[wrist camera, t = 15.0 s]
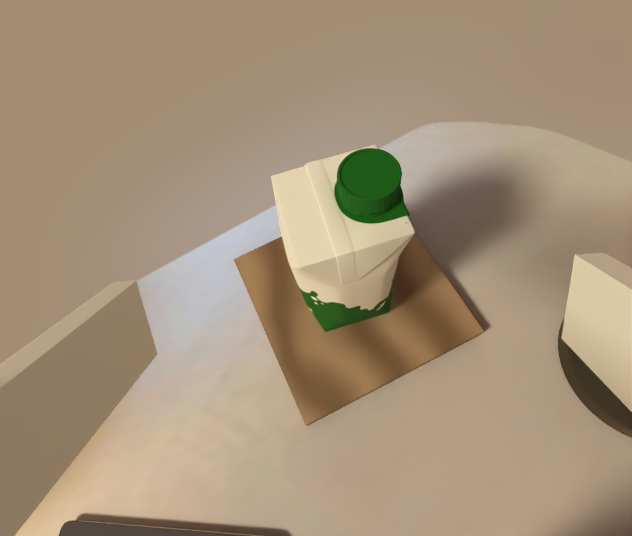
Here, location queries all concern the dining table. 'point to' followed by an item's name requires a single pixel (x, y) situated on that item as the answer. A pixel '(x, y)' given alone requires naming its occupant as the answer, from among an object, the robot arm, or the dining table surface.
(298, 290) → the walnut board
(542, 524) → the dining table surface
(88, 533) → the notebook
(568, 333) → the robot arm
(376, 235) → the milk carton
